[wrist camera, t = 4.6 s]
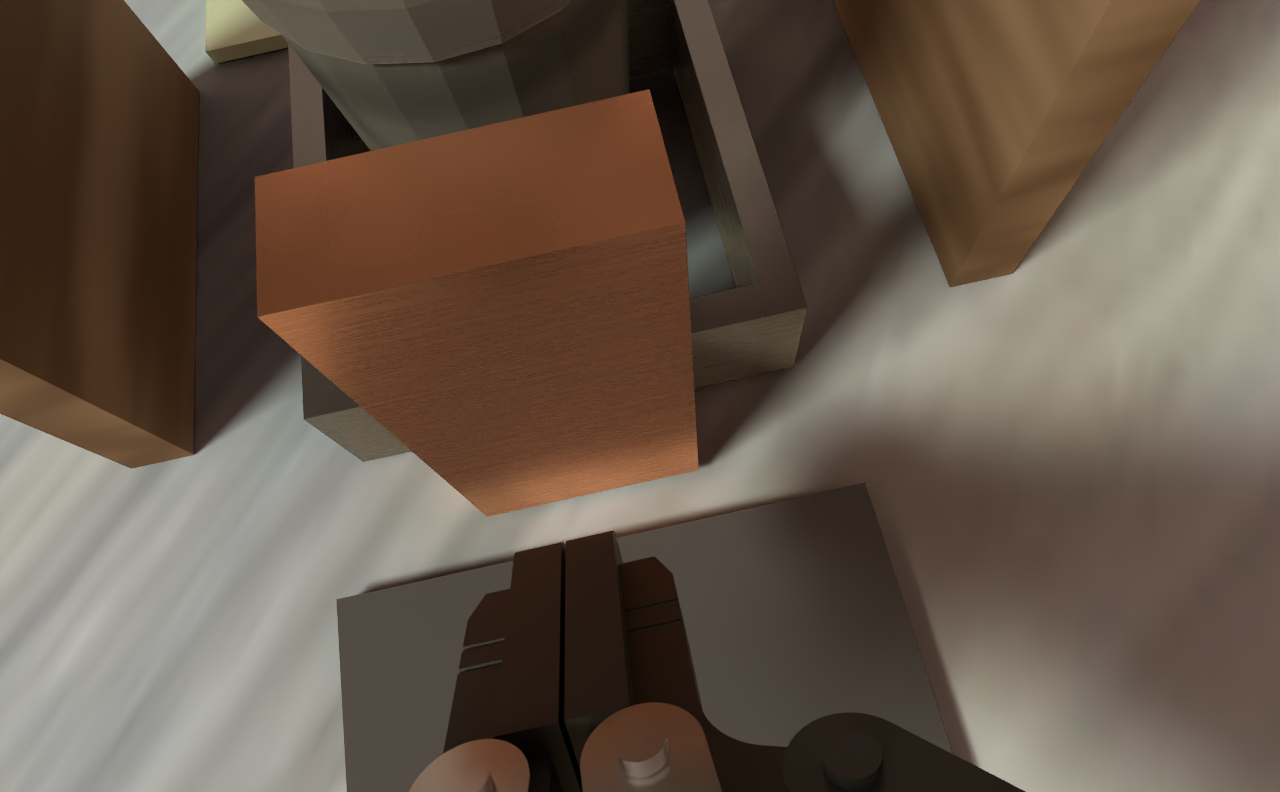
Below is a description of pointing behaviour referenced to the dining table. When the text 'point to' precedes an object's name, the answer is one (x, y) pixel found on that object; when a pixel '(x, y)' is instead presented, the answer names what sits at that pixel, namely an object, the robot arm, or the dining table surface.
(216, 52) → the pair of cream slabs
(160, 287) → the tunnel
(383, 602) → the dark grey slab
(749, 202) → the shallow grey tray
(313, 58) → the beverage cup
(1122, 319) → the dining table surface
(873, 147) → the dining table surface
